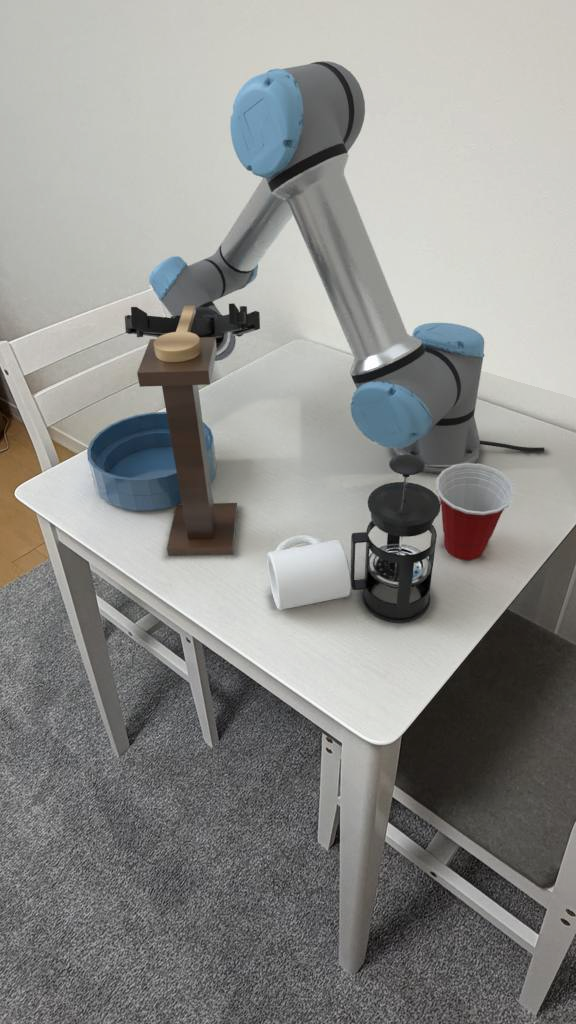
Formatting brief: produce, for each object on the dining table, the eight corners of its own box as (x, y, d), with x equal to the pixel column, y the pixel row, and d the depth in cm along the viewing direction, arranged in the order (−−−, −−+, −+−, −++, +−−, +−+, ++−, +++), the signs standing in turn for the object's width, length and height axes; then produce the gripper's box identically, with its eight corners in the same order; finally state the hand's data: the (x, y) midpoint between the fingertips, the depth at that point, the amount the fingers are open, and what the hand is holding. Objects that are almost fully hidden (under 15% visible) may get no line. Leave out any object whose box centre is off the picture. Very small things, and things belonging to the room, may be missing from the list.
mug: (351, 608, 94) (352, 565, 89) (280, 622, 93) (277, 579, 88) (327, 552, 104) (327, 511, 99) (262, 564, 102) (259, 522, 97)
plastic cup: (435, 575, 99) (443, 510, 91) (422, 527, 107) (429, 464, 100) (510, 572, 99) (525, 507, 91) (492, 524, 107) (504, 461, 100)
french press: (427, 572, 99) (443, 438, 85) (441, 620, 92) (462, 482, 78) (346, 577, 99) (349, 443, 85) (354, 626, 92) (358, 488, 78)
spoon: (170, 312, 101) (168, 302, 100) (210, 311, 100) (209, 300, 100) (151, 363, 88) (149, 351, 87) (198, 361, 88) (197, 350, 87)
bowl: (221, 442, 129) (217, 410, 125) (210, 512, 112) (206, 478, 108) (110, 446, 130) (102, 413, 125) (83, 515, 113) (73, 481, 109)
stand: (177, 511, 113) (147, 337, 94) (237, 509, 113) (219, 335, 94) (167, 556, 104) (132, 374, 85) (233, 554, 104) (211, 372, 85)
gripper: (279, 353, 116) (273, 340, 95) (133, 357, 117) (95, 345, 96) (278, 307, 115) (271, 283, 94) (131, 312, 116) (91, 290, 95)
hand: (182, 315), depth 95 cm, fingers open, 13 cm apart
